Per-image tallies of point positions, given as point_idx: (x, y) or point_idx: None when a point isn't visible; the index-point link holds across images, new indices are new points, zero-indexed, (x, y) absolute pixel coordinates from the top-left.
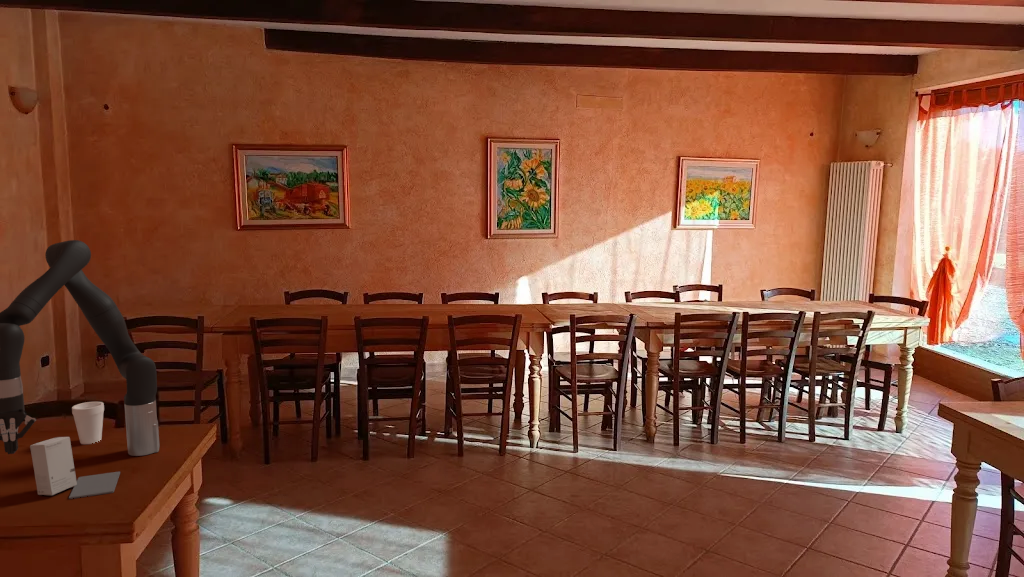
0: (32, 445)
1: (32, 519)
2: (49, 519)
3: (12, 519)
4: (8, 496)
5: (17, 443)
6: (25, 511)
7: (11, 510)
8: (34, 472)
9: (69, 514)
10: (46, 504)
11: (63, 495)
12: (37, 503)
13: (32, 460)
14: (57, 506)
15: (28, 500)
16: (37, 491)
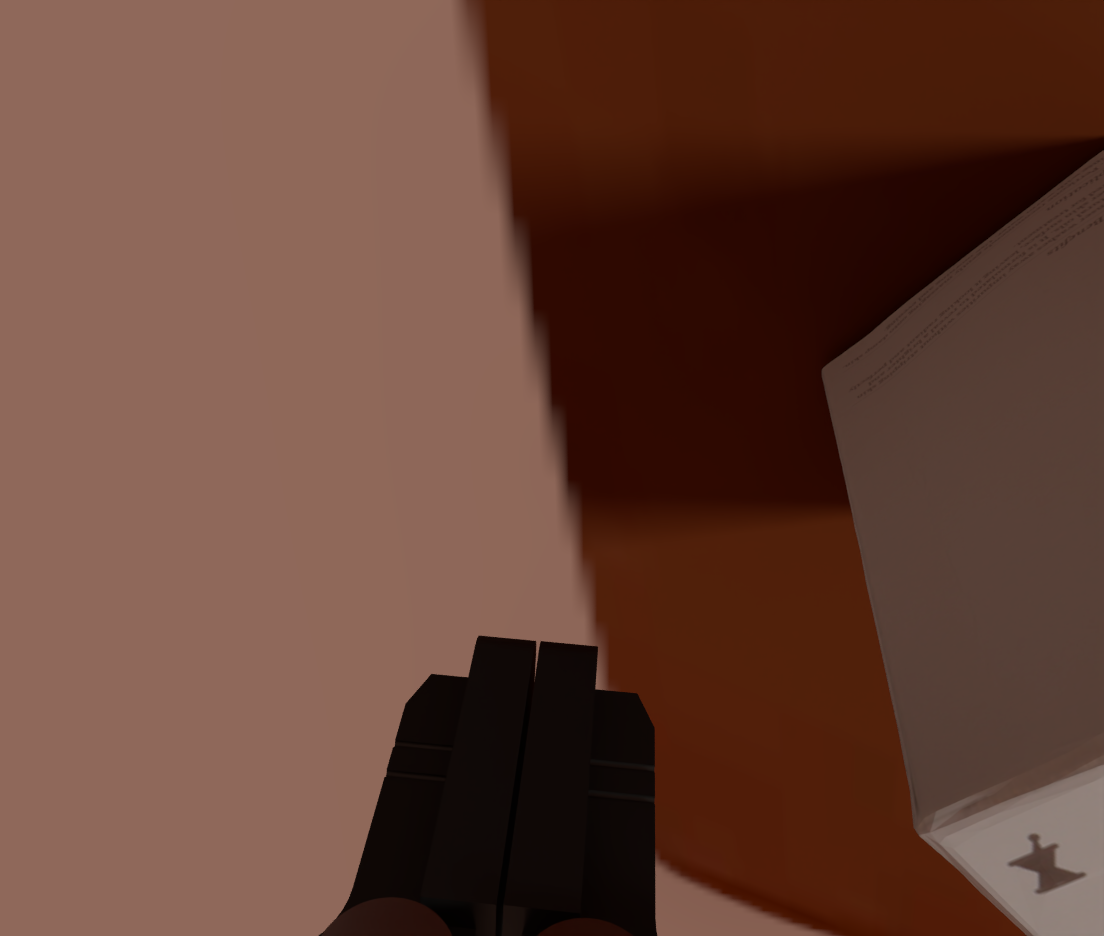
0: (974, 876)
1: (785, 827)
2: (896, 874)
3: None
4: (510, 235)
5: (651, 850)
6: (726, 682)
7: (611, 613)
8: (849, 498)
9: None
10: None
11: None
12: (815, 568)
13: (873, 614)
14: None
15: (731, 457)
16: (824, 387)
